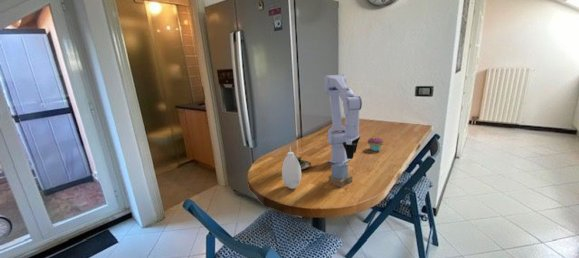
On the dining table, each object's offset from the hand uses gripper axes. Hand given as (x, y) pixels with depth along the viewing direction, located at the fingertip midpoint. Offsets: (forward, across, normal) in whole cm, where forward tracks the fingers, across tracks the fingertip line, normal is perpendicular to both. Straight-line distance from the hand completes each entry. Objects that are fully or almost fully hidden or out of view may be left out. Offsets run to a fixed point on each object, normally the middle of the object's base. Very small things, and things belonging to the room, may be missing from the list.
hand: (351, 155), depth 109 cm
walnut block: (+10, +7, -3) cm, 13 cm away
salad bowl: (+10, -4, -26) cm, 28 cm away
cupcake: (+10, -40, +7) cm, 41 cm away
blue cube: (+7, +7, -4) cm, 11 cm away
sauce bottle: (+10, +18, -21) cm, 29 cm away
